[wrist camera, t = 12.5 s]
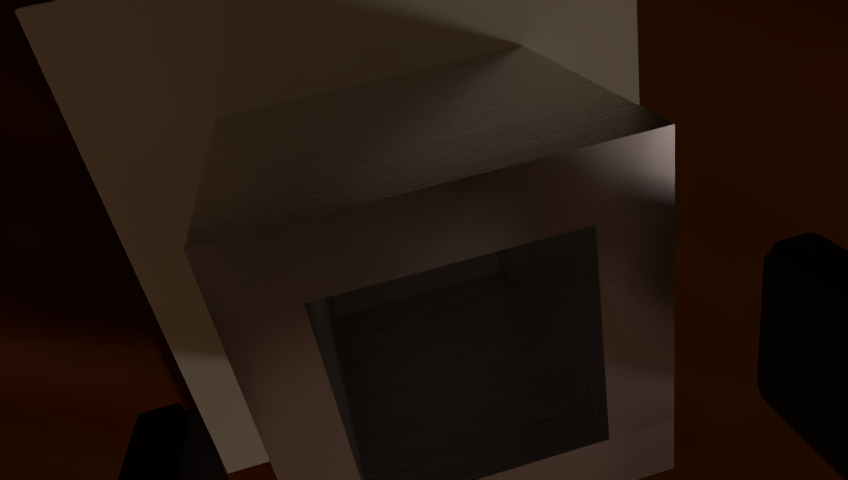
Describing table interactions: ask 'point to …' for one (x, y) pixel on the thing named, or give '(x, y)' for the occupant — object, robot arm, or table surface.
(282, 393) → the hollow square tube
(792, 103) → the table surface
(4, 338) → the table surface
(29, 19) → the rubber pad
